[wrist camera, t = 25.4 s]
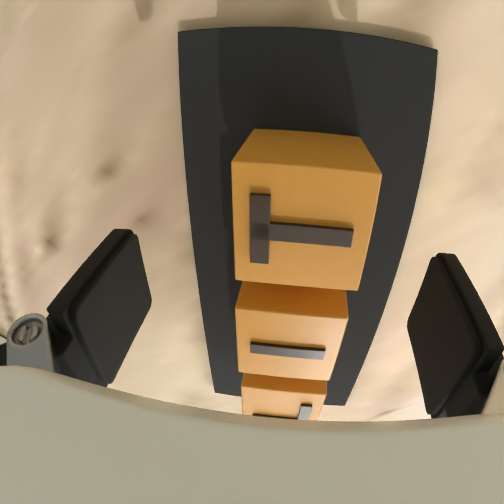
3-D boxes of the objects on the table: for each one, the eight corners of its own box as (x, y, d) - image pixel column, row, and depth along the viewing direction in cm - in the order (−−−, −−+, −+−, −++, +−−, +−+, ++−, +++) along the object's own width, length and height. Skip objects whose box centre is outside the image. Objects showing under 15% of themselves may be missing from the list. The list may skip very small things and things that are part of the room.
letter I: (252, 310, 21) (237, 375, 17) (252, 245, 18) (233, 310, 14) (329, 317, 20) (329, 384, 16) (342, 253, 18) (349, 321, 13)
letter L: (253, 367, 25) (242, 424, 20) (253, 325, 22) (240, 389, 18) (316, 373, 24) (313, 431, 20) (327, 331, 21) (326, 397, 17)
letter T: (253, 220, 17) (234, 283, 13) (253, 128, 14) (229, 162, 10) (347, 228, 17) (358, 294, 12) (360, 136, 14) (384, 175, 10)
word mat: (215, 388, 28) (214, 392, 28) (181, 32, 13) (177, 31, 12) (344, 401, 27) (344, 405, 26) (434, 49, 11) (438, 49, 11)
